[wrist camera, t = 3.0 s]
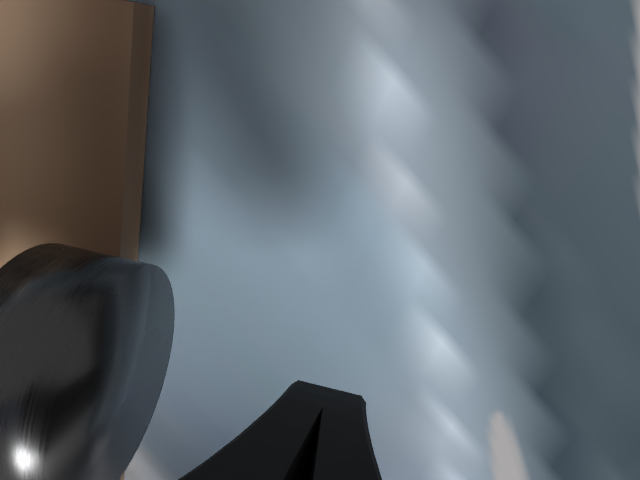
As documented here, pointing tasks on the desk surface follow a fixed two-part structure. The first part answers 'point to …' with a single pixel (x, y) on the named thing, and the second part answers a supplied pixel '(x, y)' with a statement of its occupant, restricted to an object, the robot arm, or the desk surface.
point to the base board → (73, 124)
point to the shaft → (79, 361)
